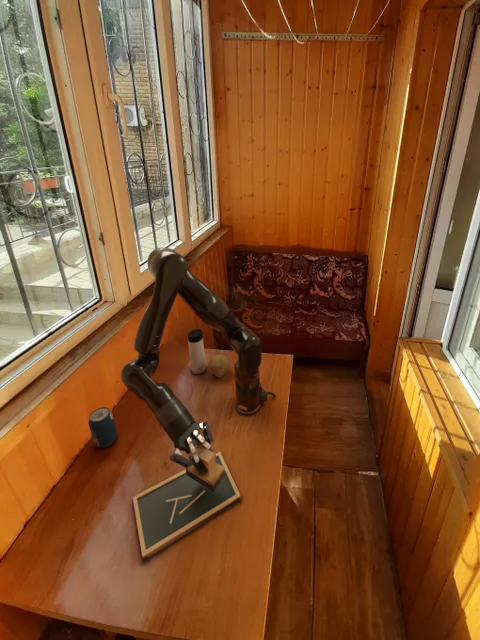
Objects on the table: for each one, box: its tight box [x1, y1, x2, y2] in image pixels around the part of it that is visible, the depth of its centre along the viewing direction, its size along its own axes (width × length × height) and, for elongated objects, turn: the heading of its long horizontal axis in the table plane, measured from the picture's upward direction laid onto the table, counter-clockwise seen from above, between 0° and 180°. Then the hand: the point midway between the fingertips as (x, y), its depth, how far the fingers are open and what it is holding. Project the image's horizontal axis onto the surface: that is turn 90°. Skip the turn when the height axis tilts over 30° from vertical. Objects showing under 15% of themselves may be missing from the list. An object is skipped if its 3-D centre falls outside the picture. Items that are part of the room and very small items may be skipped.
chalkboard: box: [132, 451, 242, 562], centre depth 88 cm, size 26×16×2 cm, turn 123°
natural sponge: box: [208, 354, 231, 378], centre depth 136 cm, size 9×9×10 cm
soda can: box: [88, 406, 118, 449], centre depth 104 cm, size 7×7×12 cm
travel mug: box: [187, 328, 207, 375], centre depth 137 cm, size 6×7×20 cm
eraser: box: [184, 445, 225, 492], centre depth 88 cm, size 10×5×9 cm, turn 63°
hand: (210, 466), depth 87 cm, fingers closed on eraser, 3 cm apart
